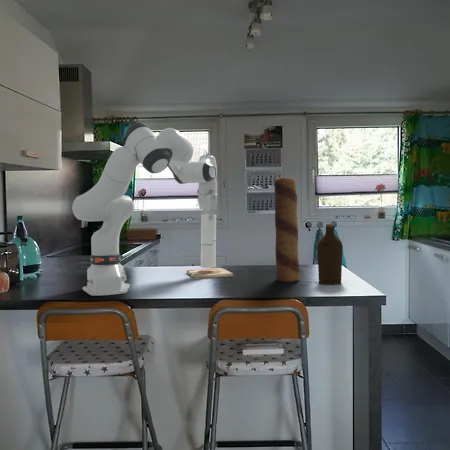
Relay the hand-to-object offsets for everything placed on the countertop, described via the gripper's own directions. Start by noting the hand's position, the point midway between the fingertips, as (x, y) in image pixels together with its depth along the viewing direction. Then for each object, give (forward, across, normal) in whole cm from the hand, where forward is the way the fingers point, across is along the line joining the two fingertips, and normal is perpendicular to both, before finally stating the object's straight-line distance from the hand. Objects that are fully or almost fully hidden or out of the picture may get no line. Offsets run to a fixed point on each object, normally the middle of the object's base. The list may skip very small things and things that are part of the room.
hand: (208, 219), depth 223 cm
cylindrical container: (+23, 0, +1) cm, 23 cm away
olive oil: (+27, -40, -42) cm, 64 cm away
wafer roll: (+27, -27, -28) cm, 47 cm away
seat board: (+27, 0, 0) cm, 27 cm away
